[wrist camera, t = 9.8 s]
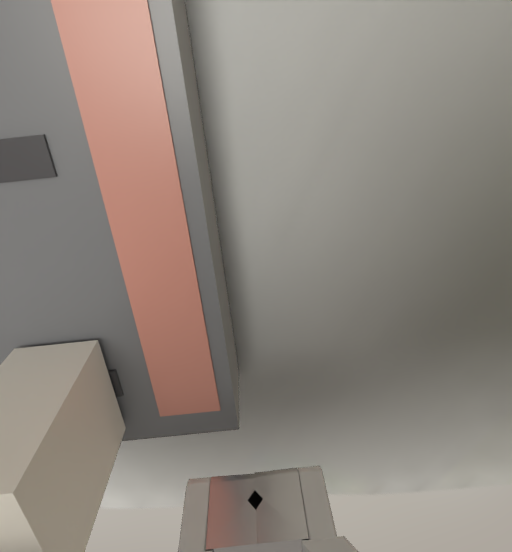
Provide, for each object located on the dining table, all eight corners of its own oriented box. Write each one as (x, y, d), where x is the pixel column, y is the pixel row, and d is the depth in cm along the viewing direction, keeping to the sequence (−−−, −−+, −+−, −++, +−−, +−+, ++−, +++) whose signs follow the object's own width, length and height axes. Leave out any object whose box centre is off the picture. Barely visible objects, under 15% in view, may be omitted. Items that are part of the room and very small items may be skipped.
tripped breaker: (98, 340, 12) (12, 493, 8) (125, 428, 14) (68, 600, 9) (14, 348, 12) (-121, 506, 8) (51, 435, 14) (-44, 611, 9)
